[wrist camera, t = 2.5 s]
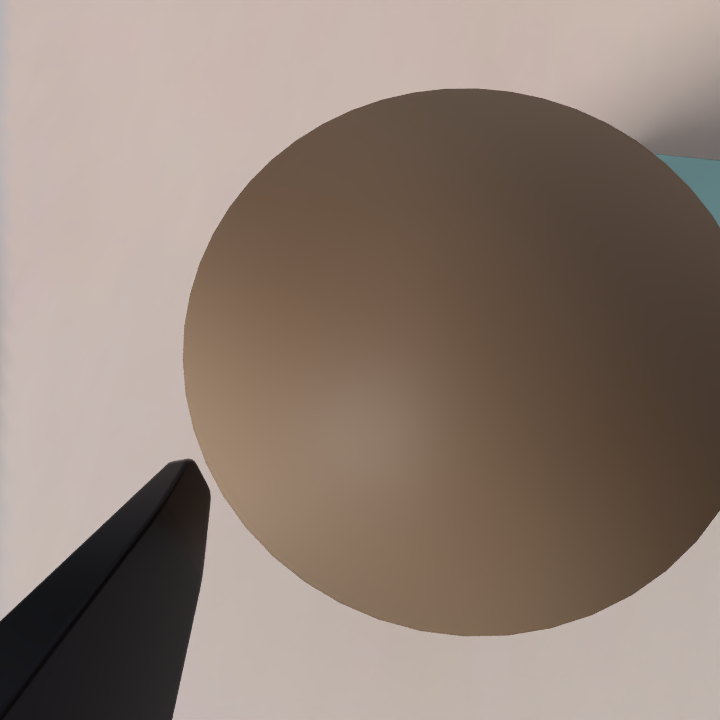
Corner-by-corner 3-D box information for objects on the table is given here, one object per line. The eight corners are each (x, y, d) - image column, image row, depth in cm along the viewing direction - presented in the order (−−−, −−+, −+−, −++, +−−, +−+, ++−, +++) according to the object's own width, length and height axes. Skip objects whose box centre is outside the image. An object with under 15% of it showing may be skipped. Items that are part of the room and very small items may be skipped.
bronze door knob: (462, 550, 16) (786, 1021, 2) (305, 478, 17) (-58, 530, 4) (520, 390, 17) (964, 114, 4) (370, 331, 18) (277, -46, 5)
